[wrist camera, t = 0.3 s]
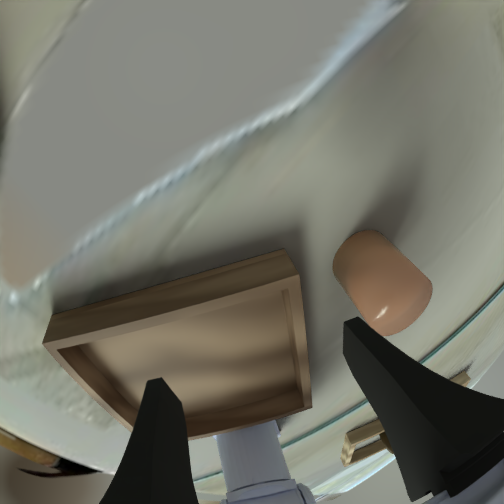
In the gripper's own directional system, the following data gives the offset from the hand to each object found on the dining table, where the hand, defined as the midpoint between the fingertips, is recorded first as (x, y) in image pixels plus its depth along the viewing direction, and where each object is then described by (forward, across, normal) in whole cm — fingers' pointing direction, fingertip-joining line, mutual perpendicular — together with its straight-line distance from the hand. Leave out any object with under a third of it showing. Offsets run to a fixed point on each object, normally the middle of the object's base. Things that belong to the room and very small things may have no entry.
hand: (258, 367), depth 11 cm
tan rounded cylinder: (+10, -10, +5) cm, 15 cm away
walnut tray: (+10, +5, +11) cm, 16 cm away
